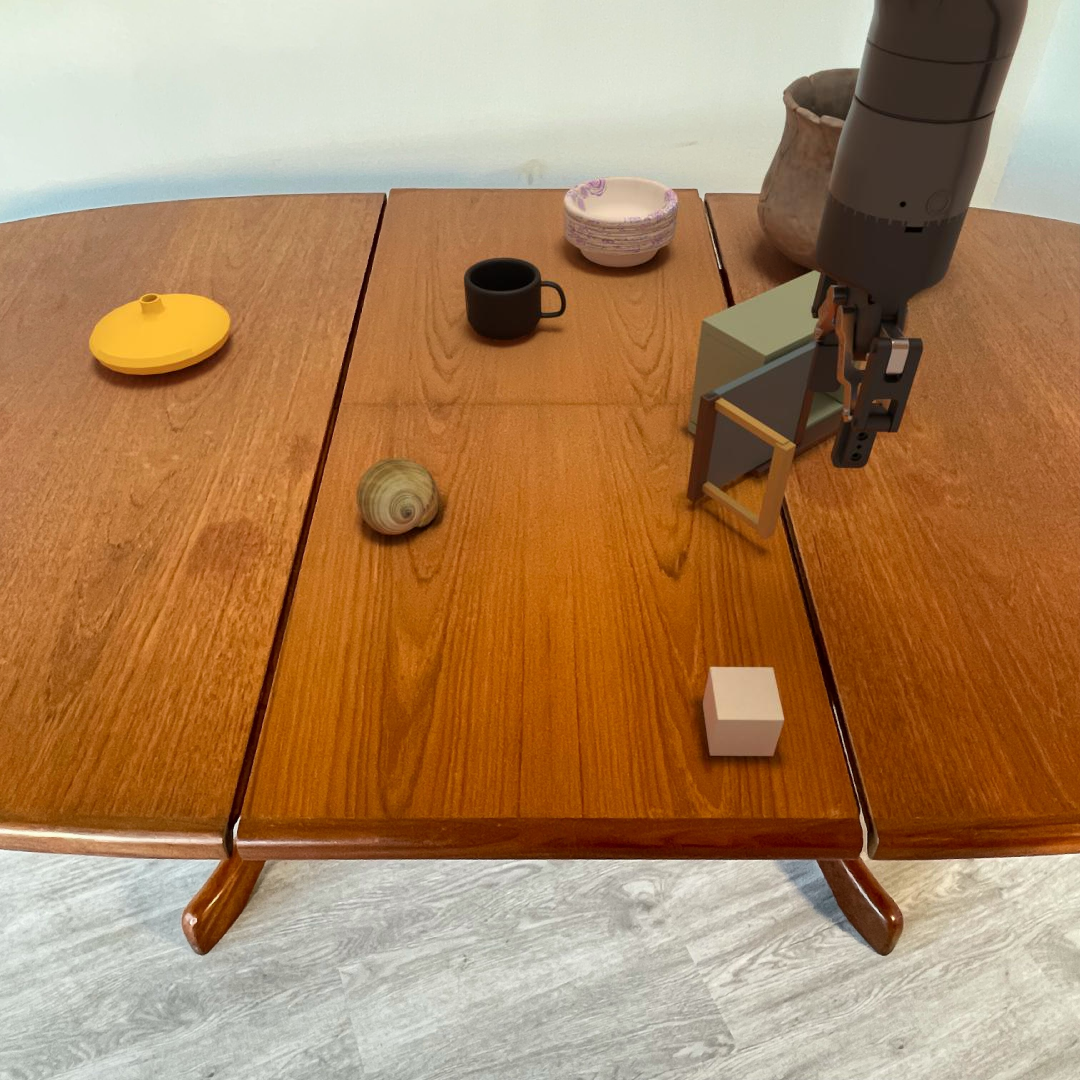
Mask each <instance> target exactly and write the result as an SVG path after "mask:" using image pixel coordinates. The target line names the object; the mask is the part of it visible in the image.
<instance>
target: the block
mask: <svg viewBox="0 0 1080 1080" xmlns="http://www.w3.org/2000/svg"><path fill="white" fill-rule="evenodd" d="M702 708H703V717H704V724H705V732H706V738H707V746H708V752H709V753H708V754H709V756H710V757H711V756H713V757H714V756H715V757H719V756H720V757H774V754H775V752H776V748H777V745H778V742H779V738H780V735H781V732H782V729H783V726H784V723H785V716H784V711H783V706H782V702H781V697H780V693H779V688H778V684H777V679H776V675H775V670H774V667H772V666H771V667H770V666H762V667H761V666H710V667H709V670H708V675H707V679H706V685H705V690H704V695H703V699H702Z"/></svg>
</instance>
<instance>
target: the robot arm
mask: <svg viewBox="0 0 1080 1080" xmlns="http://www.w3.org/2000/svg"><path fill="white" fill-rule="evenodd" d="M1028 9H1029V0H873V10H872V16H871V20H870V23H869V28H868V30H867V31H868V32H867V35H866V39H865V43H864V48H863V52H862V58H861V62H860V65H859V68H860V70H859V74H858V79H857V83H856V88H855V93H854V96H853V100H852V104H851V107H850V110H849V113H848V115H847V118H846V121H845V123H844V126H843V129H842V132H841V135H840V139H839V143H838V147H837V151H836V156H835V161H834V165H833V170H832V174H831V179H830V184H829V188H828V192H827V197H826V201H825V206H824V210H823V215H822V219H821V224H820V228H819V233H818V238H817V242H816V247H815V259H816V262H817V264H818V266H819V267H820V269H821V274H820V278H819V282H818V286H817V290H816V294H815V298H814V302H813V306H812V308H811V313H812V317H813V318H814V319H819V321H818V322H817V324H816V327H815V328H814V335H815V340H819V341H817V342H816V346H815V350H814V354H813V359H812V363H811V367H810V371H809V375H808V379H807V383H808V387H809V389H810V390H811V391H813V392H835V391H837V390H838V389H839V388H840V386H841V383H842V384H843V385H844V405H843V411H842V416H841V420H840V424H839V427H838V431H837V434H835V438H834V441H833V445H832V448H831V453H830V460H831V463H832V466H833V467H835V468H837V469H861V468H864V467H866V465H867V464H868V462H869V459H870V456H871V453H872V451H873V447H874V443H875V441H876V437H877V434H878V433H893V434H896V433H898V432H899V429H900V426H901V423H902V420H903V416H904V414H905V410H906V407H907V403H908V400H909V397H910V394H911V390H912V387H913V385H914V381H915V377H916V374H917V372H918V368H919V365H920V360H921V358H922V355H923V352H924V343H923V340H922V338H921V337H906V336H905V335H906V334H907V332H908V330H909V318H910V317H909V316H910V311H909V305H908V302H909V301H910V300H911V299H912V298H913V297H914V296H916V295H918V294H919V293H921V292H923V291H925V290H928V289H930V288H932V287H934V286H936V285H937V284H939V283H940V282H941V281H942V280H943V279H944V278H945V276H946V275H947V272H948V270H949V268H950V265H951V262H952V258H953V256H954V254H955V253H954V252H955V250H956V247H957V243H958V241H959V238H960V235H961V232H962V228H963V226H964V223H965V220H966V217H967V214H968V211H969V208H970V205H971V202H972V198H973V196H974V193H975V190H976V187H977V185H978V182H979V178H980V175H981V172H982V169H983V166H984V164H985V161H986V157H987V152H988V147H989V143H990V137H991V132H992V126H993V123H994V119H995V115H996V111H997V107H998V104H999V101H1000V98H1001V95H1002V92H1003V89H1004V87H1005V83H1006V80H1007V78H1008V74H1009V71H1010V69H1011V65H1012V62H1013V59H1014V57H1015V54H1016V50H1017V48H1018V45H1019V41H1020V38H1021V36H1022V32H1023V29H1024V25H1025V22H1026V17H1027V14H1028V13H1027V12H1028ZM852 360H853V361H862V362H866V364H865V366H864V369H856V368H855V367H854V366H853V364H852ZM859 385H860V386H859Z"/></svg>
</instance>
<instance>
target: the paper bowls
mask: <svg viewBox="0 0 1080 1080" xmlns="http://www.w3.org/2000/svg"><path fill="white" fill-rule="evenodd" d="M562 202H563V203H562V204H563V207H562V208H563V212H562V216H563V225H562V226H563V235H564V237H565V239H566V240H567V241H568V242H569V243H570V244H571V245H573V246H574V247H576V248H577V249H579V250H580V252H581V254H582V255H583V257H585V258H586V259H587V260H589V261H590V262H593V263H594V264H597V265H601V266H603V267H608V268H609V267H610V268H631V267H635V266H639V265H642V264H644V263H646V262H648V261H650V260H651V259H653V257H655V255H656V254H657V252H658V250H660V249H661V248H664V247H666V246H667V245H669V244H670V243H672V241H673V240H674V238H675V236H676V231H677V230H676V229H677V223H678V212H679V211H678V210H679V197H678V195H677V193H676V192H675V190H673V189H672V188H671V187H669V186H668V185H666V184H664V183H661V182H659V181H655V180H652V179H649V178H643V177H636V176H606V177H599V178H595V179H590V180H587V181H584V182H580V183H579V184H576V185H574V186H573V187H571V188H570V189H569V190H568V191H567V192H566V193H565V195H564V197H563V200H562Z"/></svg>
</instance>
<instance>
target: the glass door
mask: <svg viewBox="0 0 1080 1080" xmlns="http://www.w3.org/2000/svg"><path fill="white" fill-rule="evenodd" d="M817 341H819V340H813V341H811V342H809V344H807V345H805V346H803V347H801V348H799V349H797V350H795V351H793V352H791V353H789V354H787V355H785V356H783V357H781V358H779V359H776V360H774V361H772V362H770V363H768V364H766V365H764V366H762V367H760V368H758V369H756V370H754V371H752V372H750V373H748V374H746V375H744V376H742V377H740V378H738V379H736V380H734V381H732V382H730V383H728V384H726V385H724V386H722V387H720V388H717V389H715V390H713V391H712V390H711V391H709V392H707V393H705V394H703V395H701V396H700V403H699V411H698V418H697V425H696V432H695V435H694V441H693V448H692V455H691V462H690V469H689V476H688V484H687V489H686V490H687V491H686V499H687V500H689V501H690V502H691V503H696V502H698V501H700V500H701V499H703V498H704V497H705V496H707V497H710V498H711V499H712V500H714V501H715V502H717V503H718V504H719V505H720V506H722V507H723V508H724V509H726V510H728V511H729V512H730V513H732V514H733V515H734V516H736V517H737V518H738V519H739V520H741V521H742V522H744V523H745V524H747V525H748V526H750V527H751V528H752V529H754V530H755V534H756V535H758V536H759V537H760V538H762V539H763V540H764V541H767V540H769V539H770V538H772V537H774V536H775V534H776V530H777V526H778V521H779V517H780V514H781V509H782V505H783V501H784V497H785V492H786V488H787V483H788V480H789V477H790V476H789V475H790V471H791V468H792V464H793V459H794V458H793V456H794V451H795V447H796V445H798V444H799V443H801V442H802V441H803V438H804V433H805V429H806V425H807V421H808V417H809V413H810V409H811V405H812V401H813V397H814V393H815V392H813V391H811V390H810V389H809V387H808V383H807V379H808V375H809V371H810V367H811V363H812V359H813V354H814V350H815V346H816V342H817ZM771 458H772V461H771V466H770V471H769V472H768V476H767V480H766V485H765V489H764V495H763V498H762V503H761V508H760V512H759V516H758V515H756V514H755V513H754V512H752V511H751V510H750V509H748V508H746V507H745V506H744V505H742V504H741V503H740V502H738V501H737V500H736V499H734V498H733V497H731V496H730V495H729V494H727V493H725V492H724V491H722V489H721V487H723V486H724V485H726V484H728V483H730V482H732V481H733V480H735V479H737V478H739V477H740V476H742V475H745V474H747V473H749V472H748V471H750V470H751V469H753V468H755V467H757V466H759V465H760V464H762V463H764V462H766V461H768V460H769V459H771Z"/></svg>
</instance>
